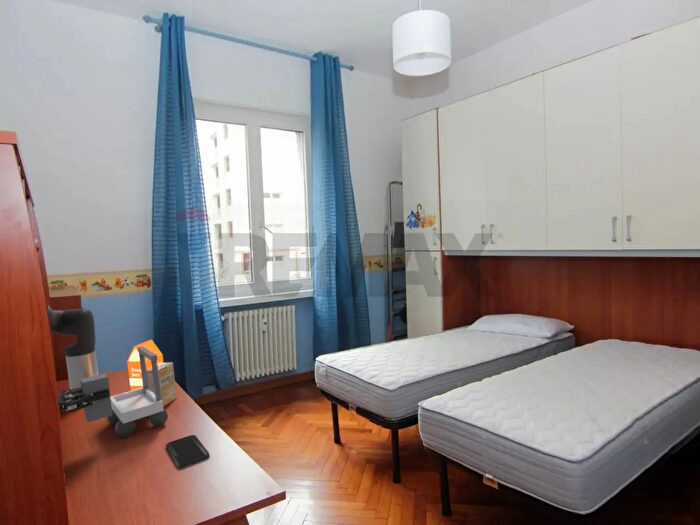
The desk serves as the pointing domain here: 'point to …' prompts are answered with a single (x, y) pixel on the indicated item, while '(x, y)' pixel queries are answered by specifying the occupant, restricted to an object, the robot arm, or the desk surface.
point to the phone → (187, 451)
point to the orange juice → (135, 366)
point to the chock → (100, 406)
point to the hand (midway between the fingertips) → (107, 390)
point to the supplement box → (164, 382)
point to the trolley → (139, 401)
